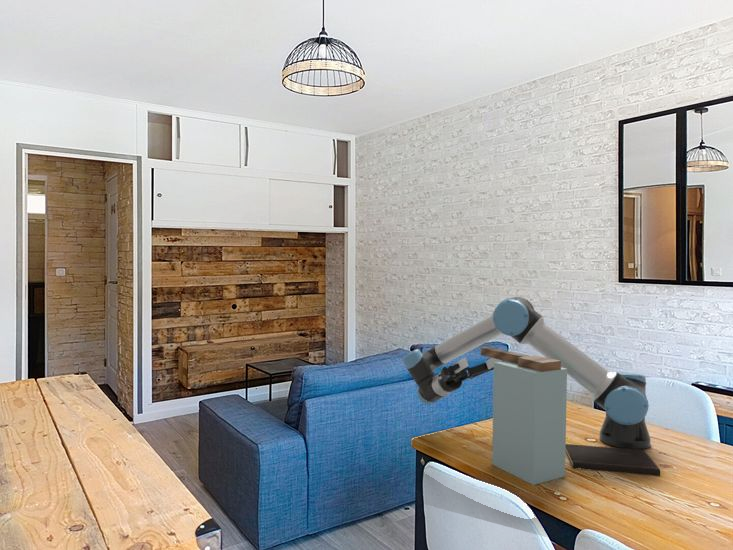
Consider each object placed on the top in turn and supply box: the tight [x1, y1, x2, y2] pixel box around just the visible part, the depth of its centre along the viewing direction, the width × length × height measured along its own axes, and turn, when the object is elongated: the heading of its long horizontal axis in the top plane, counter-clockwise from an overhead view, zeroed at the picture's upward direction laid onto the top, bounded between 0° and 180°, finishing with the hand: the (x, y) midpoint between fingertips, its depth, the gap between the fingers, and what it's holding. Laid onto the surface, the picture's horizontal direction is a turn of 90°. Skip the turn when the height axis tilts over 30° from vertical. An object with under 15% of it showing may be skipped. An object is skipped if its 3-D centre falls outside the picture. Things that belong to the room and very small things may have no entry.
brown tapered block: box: [480, 346, 561, 372], centre depth 155 cm, size 27×7×2 cm, turn 29°
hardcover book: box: [565, 443, 661, 477], centre depth 158 cm, size 16×23×2 cm
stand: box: [491, 360, 568, 486], centre depth 151 cm, size 16×12×30 cm
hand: (483, 359), depth 166 cm, fingers open, 13 cm apart
